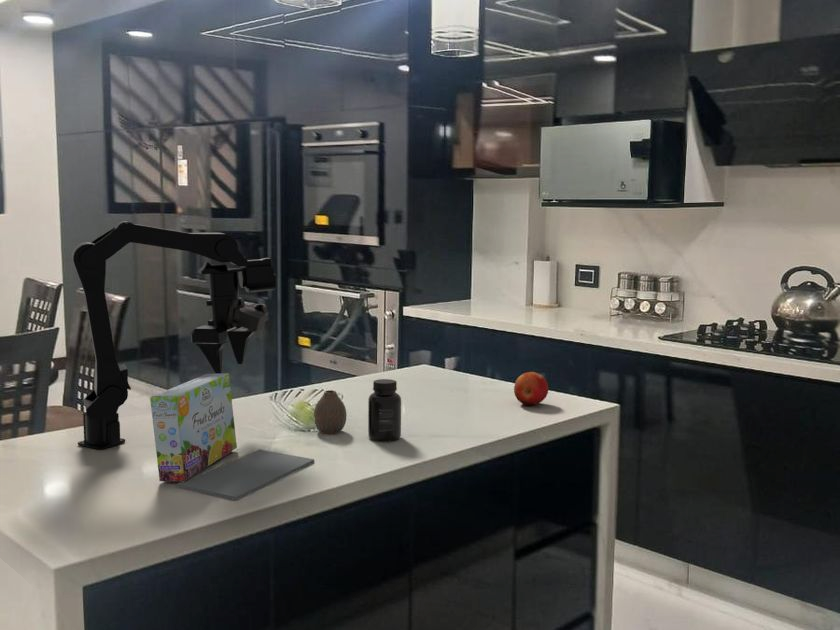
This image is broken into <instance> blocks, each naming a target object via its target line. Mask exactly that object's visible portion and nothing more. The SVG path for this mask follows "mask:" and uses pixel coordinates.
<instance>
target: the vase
mask: <svg viewBox="0 0 840 630" xmlns="http://www.w3.org/2000/svg"><path fill="white" fill-rule="evenodd" d="M314 406H315V407H314V410H313V418H314V417H315V423H314V425H315V424H316V426H315V428H316V427H317V428H316V429H317V430H318V432H320V433H321V434H322V435H337V434H339V433H341V432H342V430H343V429H344V427H345V426H346V422H347V408H346V406H345V404H344V402H343V401H342V399H341V398H340V396H338V394H337V391H336V390H325V391H324V393H323V394H322V396H321V398H320V399H319V400H318V401H317V403H316V404H315V405H314Z"/></svg>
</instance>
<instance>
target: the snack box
mask: <svg viewBox="0 0 840 630" xmlns="http://www.w3.org/2000/svg"><path fill="white" fill-rule="evenodd" d="M230 378H231V377H230V373H229V372H227V373H223V372H221V374H219V373H218V374H216V373H209V374H203V375H200V376H199V377H198V376H197V377H196V378H194V379H191V380H189V381H186V382H183V383H181V384H178V385H177V386H174V387H172V388H169V389H167V390H165V391H162V392H159V393H157V394H155V395H152V396H150V397H149V400H150V409H151V410H150V411H151V418H152V427H153V433H154V443H155V451H156V460H157V463H156V464H157V468H158V471H157V472H158V480H159V482H183V481H186V480H188V479H190V478H193V477H194V476H196V475H197V474H198V473H199V472H201V471H203V470H204V469H205V468H207V467H209V466H211V465H212V464H214V463H216V462H217V461H218V460H220V459H221V458H224V457H225V456H226V455H228V454H230V453H231V452H232V451H234V450H235V449H237V448H238V444H237V443H238V442H237V435H236V428H235V417H234V408H233V398H232V391H231V390H232V389H231V379H230Z"/></svg>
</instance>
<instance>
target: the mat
mask: <svg viewBox="0 0 840 630" xmlns="http://www.w3.org/2000/svg"><path fill="white" fill-rule="evenodd" d="M314 463H315V459H313V458H309V457H304V456H298V455H292V454H287V453H282V452H278V451H277V452H276V451H271V450H266V449H258V450H255V451H251V452H250V453H248V454H245V455H243V456H241V457H239V458H236V459H233V460H231V461H229V462H226V463H224V464H221V465H218V466H217V467H214V468H212V469H209V470H207V471H205V472H202V473H200V474H198V475H197V474H196V475H194V476H192V477H190V478H189V479H187V480H186V481H180V482H179V483H177V484H176V488H177V489H182V490H184V491H185V490H186V491H191V492H196V493H200V494H204V495H209V496H214V497H217V498H218V497H219V498H222V499H223V498H224V499H227V500H232V501H239V500H240V499H242V498H244V497H246V496H248V495H251V494H253V493H254V492H256V491H258V490H260V489H262V488H265V487H267V486H269V485H271V484H274V482H276V481H279V480H281V479H283V478H285V477H287V476H290V475H292V474H294V473H296V472H297V471H300V470H301V469H304V468H306V467H308V466H310V465H312V464H314Z"/></svg>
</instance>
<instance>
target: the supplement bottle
mask: <svg viewBox="0 0 840 630" xmlns="http://www.w3.org/2000/svg"><path fill="white" fill-rule="evenodd" d="M372 383H373V387H372V391H374V392H372V393H371V394H370V395H369V396H368V401H367V403H368V404H367V405H368V411H367V412H368V415H367V417H368V418H367V419H368V421H367V423H368V426H367V427H368V429H367V432H368V438H369V439H370V440H371V441H375V442H383V443H384V442H385V443H386V442H395V441H397V440H399V439H401V436H402V397H401V395H400V394H399V393H397V392H396V391H397V390H398V388H397V385H398V382H397V380H394V379H389V378H387V379H386V378H380V379H375V380H373V382H372Z"/></svg>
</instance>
